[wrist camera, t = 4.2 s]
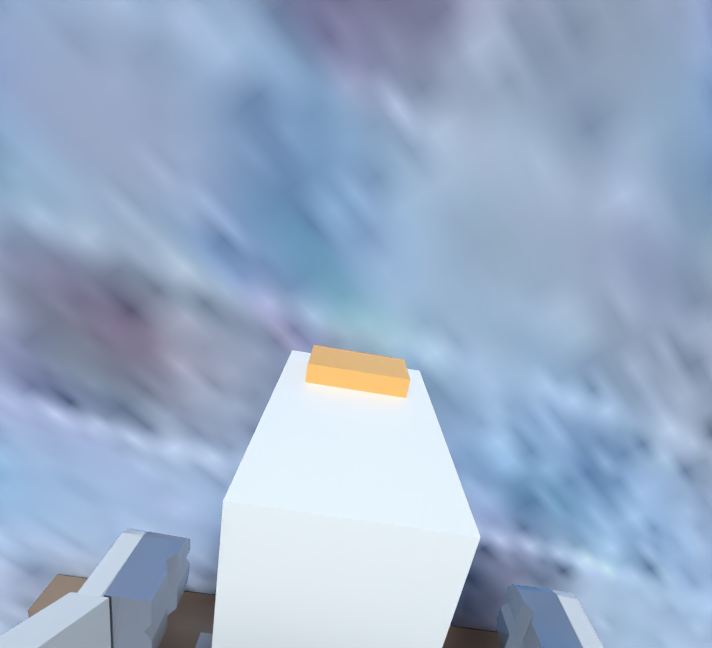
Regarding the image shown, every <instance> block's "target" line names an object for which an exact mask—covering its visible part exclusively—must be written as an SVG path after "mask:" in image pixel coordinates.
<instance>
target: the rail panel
mask: <svg viewBox="0 0 712 648" xmlns="http://www.w3.org/2000/svg"><path fill="white" fill-rule="evenodd" d="M86 580H87V578H80V577H72V576H65V575H57V576H56V577H55V578H54V579H53V580H52V582H51V583H50V584H49V585H48V587H47V588H46V589H45V590H44V591H43V593H42V594H41V595H40V596H39V598H38V599H37V600H36V601H35V602H34V604H33V605H32V606H31V607H30V609H29V610H28V614H29V618H30V617H31V616H33V615H34V614H36V613H38V612H39V611H41V610H42V609H44V608H46V607H47V606H49V605H50V604H52V603H54V602H55V601H57V600H58V599H60V598H62V597H63V596H65V595H66V594H68V593H70V592H76V593H77V592H78V591H79V590H80V588H81V587H82V586H83V584H84V583H85V582H86ZM215 599H216V595H209V594H202V593H194V592H186V591H184V592H183V595H182V597H181V600H180V602H179V604H178V606H177V608H176V609H175V610H174V611H172V612H171V613H170V614H169V615H168V617H167V630H166V632H165V634H164V636H163V638H162V640H161V643H160V645H159V647H158V648H212V637H213V625H214V612H215ZM442 648H501V647H500V644H499V639H498V633H497V632H490V631H483V630H475V629H468V628H460V627H452V626H450V627H449V629H448V632H447V635H446V638H445V641H444V644H443V647H442Z"/></svg>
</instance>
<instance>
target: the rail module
mask: <svg viewBox="0 0 712 648" xmlns="http://www.w3.org/2000/svg"><path fill="white" fill-rule="evenodd" d="M479 540H480V535H479V532H478V529H477V527H476V524H475V521H474V518H473V516H472V513H471V510H470V507H469V505H468V502H467V499H466V496H465V494H464V491H463V488H462V486H461V483H460V480H459V477H458V475H457V472H456V469H455V466H454V464H453V461H452V458H451V456H450V453H449V450H448V447H447V445H446V442H445V439H444V436H443V434H442V431H441V428H440V425H439V423H438V420H437V417H436V415H435V412H434V409H433V406H432V404H431V401H430V398H429V395H428V393H427V390H426V387H425V384H424V382H423V379H422V376H421V374H420V371H417V370H411V369H407V367H406V363H405V360H404V359H398V358H391V357H385V356H379V355H373V354H367V353H360V352H354V351H348V350H342V349H336V348H330V347H323V346H317V345H314V346H313V349H312V352H311V353H305V352H299V351H293V350H292V352H291V354H290V357H289V359H288V361H287V363H286V365H285V367H284V370H283V372H282V374H281V376H280V378H279V381H278V383H277V385H276V387H275V389H274V391H273V394H272V396H271V398H270V400H269V402H268V404H267V407H266V409H265V411H264V413H263V415H262V418H261V420H260V422H259V424H258V426H257V428H256V431H255V433H254V435H253V437H252V439H251V441H250V444H249V446H248V448H247V450H246V452H245V455H244V457H243V459H242V461H241V463H240V465H239V468H238V470H237V472H236V474H235V476H234V478H233V481H232V483H231V485H230V487H229V489H228V492H227V494H226V496H225V498H224V500H223V510H222V523H221V536H220V548H219V561H218V574H217V587H216V599H215V612H214V625H213V637H212V648H442V647H443V644H444V641H445V638H446V635H447V632H448V629H449V627H450V624H451V621H452V618H453V615H454V612H455V609H456V606H457V604H458V601H459V598H460V595H461V592H462V589H463V586H464V583H465V580H466V578H467V575H468V572H469V569H470V566H471V563H472V560H473V557H474V554H475V552H476V549H477V546H478V543H479Z"/></svg>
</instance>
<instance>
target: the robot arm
mask: <svg viewBox="0 0 712 648" xmlns="http://www.w3.org/2000/svg"><path fill="white" fill-rule="evenodd" d="M189 551H190V539H187V538H182V537H176V536H170V535H165V534H159V533H153V532H147V531H140V530H134V529H127V530H126V531H124V532H123V533H122V534H121V535H120V536H119V537H118V539H117V540H116V541H115V543H114V544H113V545H112V547H111V548H110V549H109V551H108V552H107V554H106V555H105V556H104V558H103V559H102V560H101V562H100V563H99V564H98V566H97V567H96V568H95V570H94V571H93V572H92V574H91V575H90V576H89V578H88V579H87V580H86V582H85V583H84V584H83V586H82V587H81V588H80V590H79V591H78V592H77V593H76V592H70V593H68V594H66V595H65V596H63V597H62V598H60V599H58V600H57V601H55V602H54V603H52V604H50V605H49V606H47V607H46V608H44V609H42V610H41V611H39V612H38V613H36V614H34V615H33V616H31V617H30V618H28V619H26V620H25V621H23V622H22V623H20V624H18V625H17V626H15V627H14V628H12V629H10V630H9V631H7V632H6V633H4V634H2V635H1V636H0V648H158V647H159V645H160V643H161V640H162V638H163V636H164V634H165V632H166V630H167V617H168V615H169V614H170V613H171V612H172V611H174V610H175V609H176V608H177V606H178V604H179V602H180V600H181V597H182V595H183V592H184V589H185V586H186V583H187V579H188V574H189V564H190V563H189V562H188V561H187V559H186V557H187V555H188V553H189ZM505 595H506V598H507V600H508V603H506V604H505V605H503V606H502V607H500V611H499V614H498V617H497V633H498V639H499V644H500V647H501V648H604V647H603V645H602V643H601V642H600V640H599V638H598V636H597V634H596V633H595V631H594V629H593V627H592V625H591V623H590V622H589V620H588V618H587V616H586V614H585V613H584V611H583V609H582V607H581V605H580V603H579V602H578V600H577V598H576V597H575V596H574V595H573V594H572V593H570V592H563V591H556V590H549V589H544V588H536V587H529V586H521V585H513V584H512V585H511V586H510V587H508V590H507V592H506V594H505Z"/></svg>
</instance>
